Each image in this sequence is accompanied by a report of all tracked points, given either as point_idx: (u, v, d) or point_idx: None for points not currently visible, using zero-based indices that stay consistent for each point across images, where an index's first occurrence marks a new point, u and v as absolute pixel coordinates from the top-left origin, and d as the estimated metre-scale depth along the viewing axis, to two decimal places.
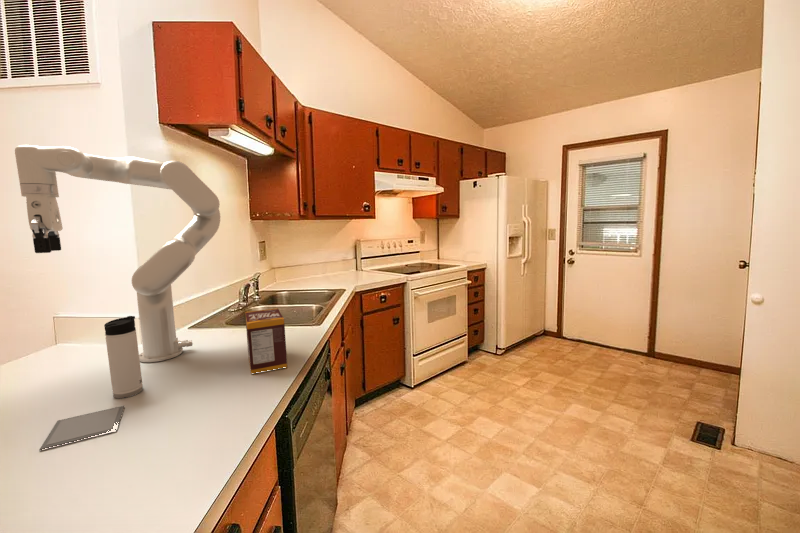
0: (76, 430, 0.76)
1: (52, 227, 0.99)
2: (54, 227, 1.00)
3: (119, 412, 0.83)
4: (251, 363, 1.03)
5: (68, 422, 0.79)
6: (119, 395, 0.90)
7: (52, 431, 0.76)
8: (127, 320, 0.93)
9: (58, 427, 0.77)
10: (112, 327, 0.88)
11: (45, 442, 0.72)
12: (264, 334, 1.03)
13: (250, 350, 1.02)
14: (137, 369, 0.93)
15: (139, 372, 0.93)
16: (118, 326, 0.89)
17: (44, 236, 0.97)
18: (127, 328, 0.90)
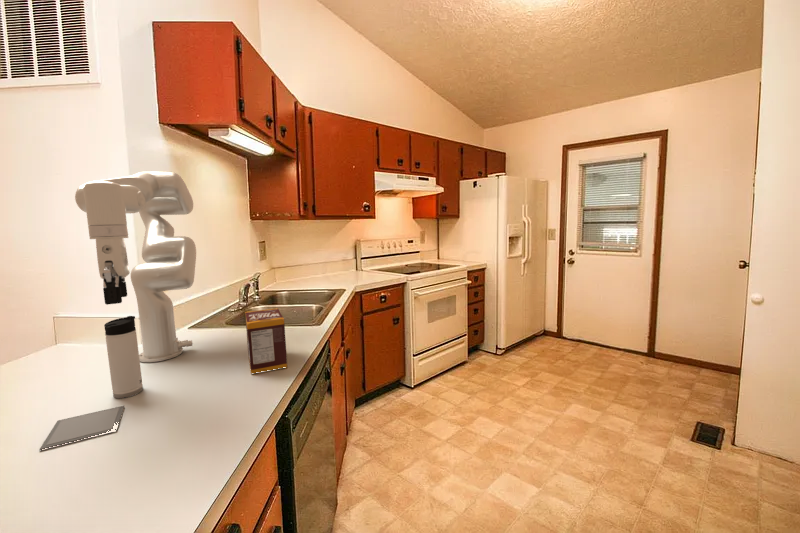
0: (76, 430, 0.76)
1: (123, 274, 0.87)
2: (125, 273, 0.88)
3: (119, 412, 0.83)
4: (251, 363, 1.03)
5: (68, 422, 0.79)
6: (119, 395, 0.90)
7: (52, 431, 0.76)
8: (127, 320, 0.93)
9: (58, 427, 0.77)
10: (112, 327, 0.88)
11: (45, 442, 0.72)
12: (264, 334, 1.03)
13: (250, 350, 1.02)
14: (137, 369, 0.93)
15: (139, 372, 0.93)
16: (118, 326, 0.89)
17: (116, 285, 0.85)
18: (127, 328, 0.90)
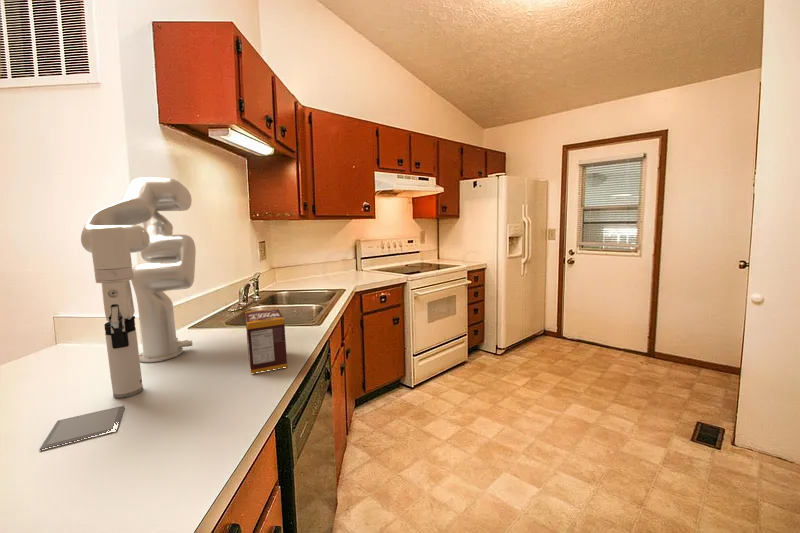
0: (76, 430, 0.76)
1: (129, 316, 0.88)
2: (130, 315, 0.89)
3: (119, 412, 0.83)
4: (251, 363, 1.03)
5: (68, 422, 0.79)
6: (119, 395, 0.90)
7: (52, 431, 0.76)
8: (127, 320, 0.93)
9: (58, 427, 0.77)
10: None
11: (45, 442, 0.72)
12: (264, 334, 1.03)
13: (250, 350, 1.02)
14: (137, 369, 0.93)
15: (139, 372, 0.93)
16: None
17: (123, 330, 0.88)
18: (127, 328, 0.90)
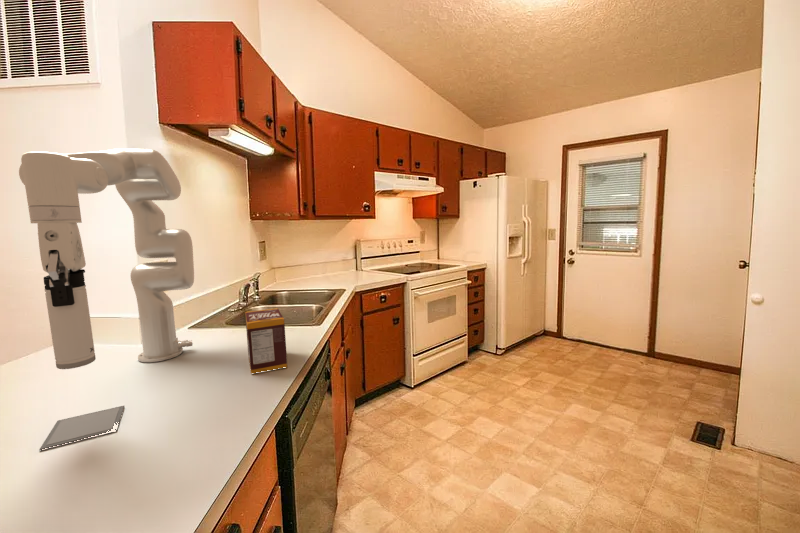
0: (76, 430, 0.76)
1: (73, 266, 0.71)
2: (76, 266, 0.72)
3: (119, 412, 0.83)
4: (251, 363, 1.03)
5: (68, 422, 0.79)
6: (63, 365, 0.73)
7: (52, 431, 0.76)
8: (74, 274, 0.75)
9: (58, 427, 0.77)
10: None
11: (45, 442, 0.72)
12: (264, 334, 1.03)
13: (250, 350, 1.02)
14: (87, 335, 0.75)
15: (89, 339, 0.76)
16: None
17: (65, 284, 0.70)
18: (73, 282, 0.72)
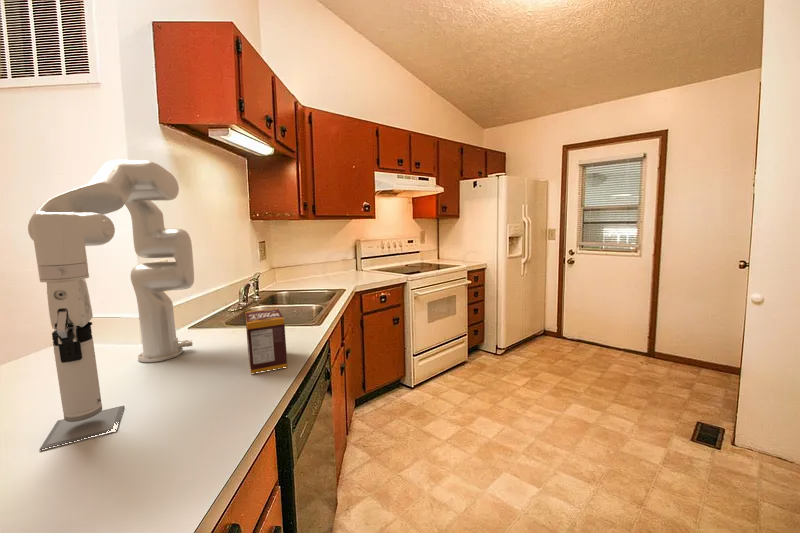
0: (76, 430, 0.76)
1: (81, 323, 0.72)
2: (84, 322, 0.73)
3: (119, 412, 0.83)
4: (251, 363, 1.03)
5: (68, 422, 0.79)
6: (71, 418, 0.74)
7: (52, 431, 0.76)
8: (82, 327, 0.77)
9: (58, 427, 0.77)
10: None
11: (45, 442, 0.72)
12: (264, 334, 1.03)
13: (250, 350, 1.02)
14: (94, 387, 0.77)
15: (96, 390, 0.77)
16: None
17: (74, 340, 0.72)
18: (80, 337, 0.74)
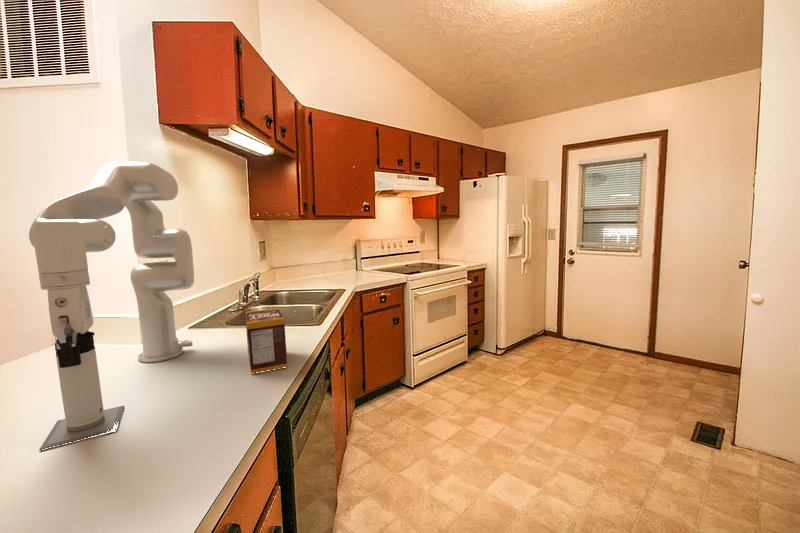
0: None
1: (82, 330, 0.72)
2: (85, 329, 0.73)
3: (119, 412, 0.83)
4: (251, 363, 1.03)
5: None
6: (73, 428, 0.75)
7: (52, 431, 0.76)
8: (84, 337, 0.77)
9: (58, 427, 0.77)
10: None
11: (45, 442, 0.72)
12: (264, 334, 1.03)
13: (250, 350, 1.02)
14: (97, 396, 0.77)
15: (99, 400, 0.78)
16: None
17: (72, 345, 0.71)
18: (83, 348, 0.75)
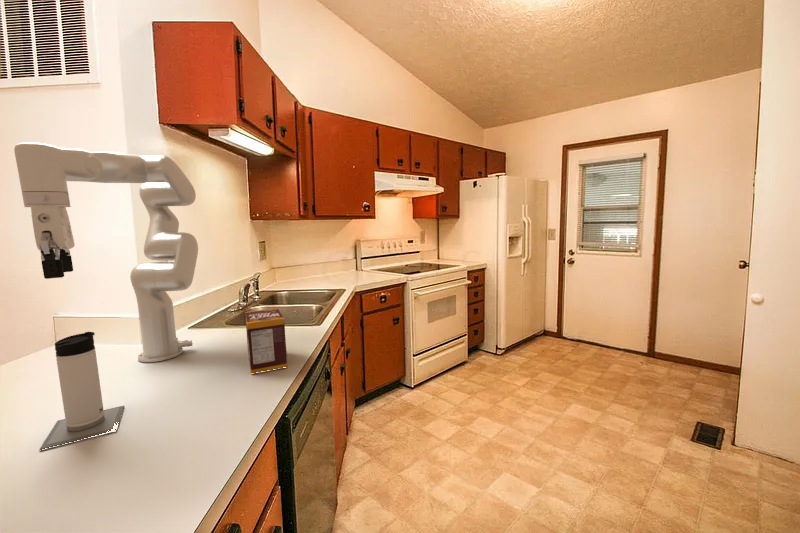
0: None
1: (65, 246, 0.80)
2: (67, 245, 0.81)
3: (119, 412, 0.83)
4: (251, 363, 1.03)
5: None
6: (73, 428, 0.75)
7: (52, 431, 0.76)
8: (84, 337, 0.77)
9: (58, 427, 0.77)
10: (63, 346, 0.73)
11: (45, 442, 0.72)
12: (264, 334, 1.03)
13: (250, 350, 1.02)
14: (97, 396, 0.77)
15: (99, 400, 0.78)
16: (71, 345, 0.73)
17: (55, 257, 0.78)
18: (83, 348, 0.75)
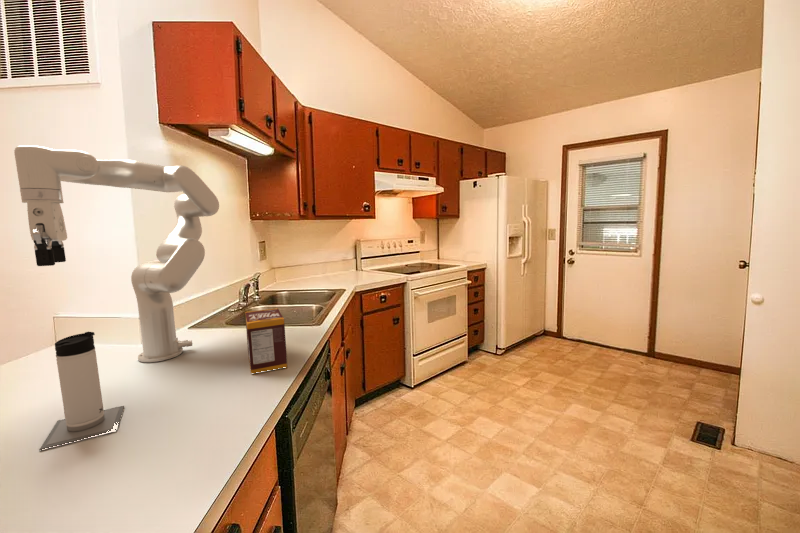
0: None
1: (56, 237, 0.89)
2: (58, 237, 0.90)
3: (119, 412, 0.83)
4: (251, 363, 1.03)
5: None
6: (73, 428, 0.75)
7: (52, 431, 0.76)
8: (84, 337, 0.77)
9: (58, 427, 0.77)
10: (63, 346, 0.73)
11: (45, 442, 0.72)
12: (264, 334, 1.03)
13: (250, 350, 1.02)
14: (97, 396, 0.77)
15: (99, 400, 0.78)
16: (71, 345, 0.73)
17: (47, 247, 0.87)
18: (83, 348, 0.75)
